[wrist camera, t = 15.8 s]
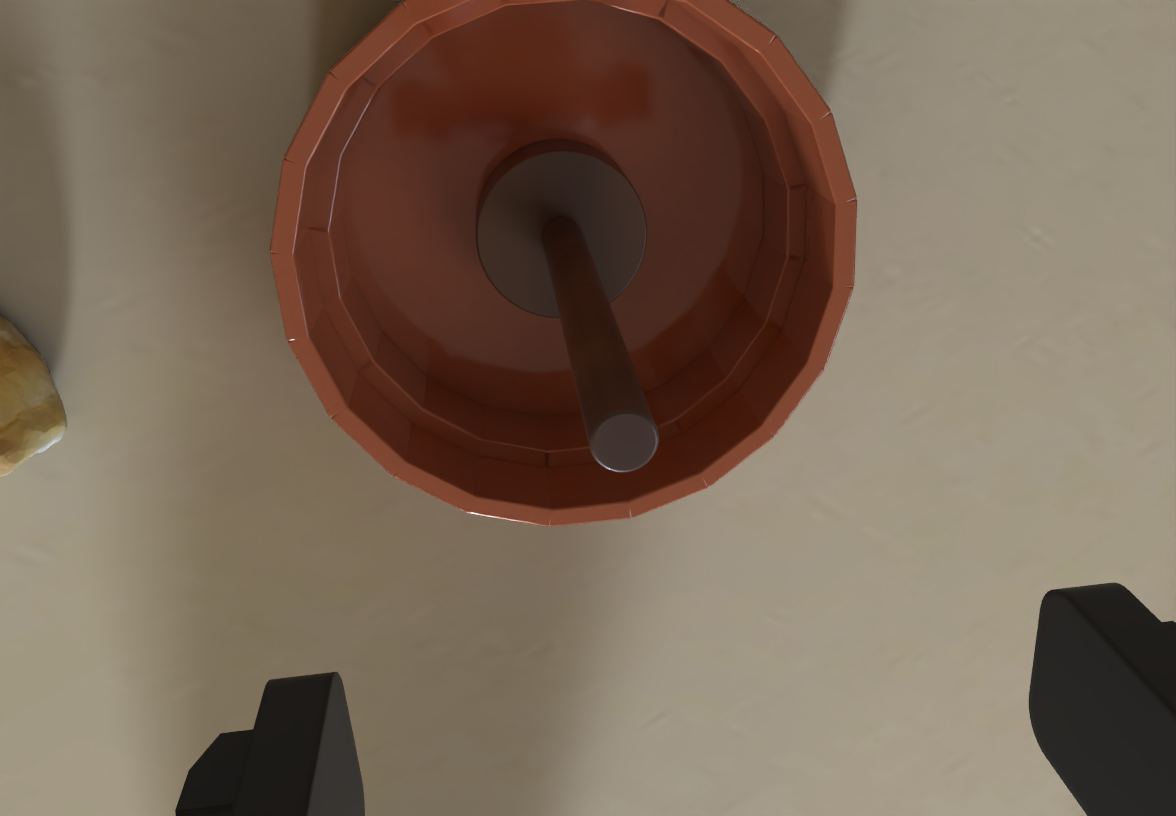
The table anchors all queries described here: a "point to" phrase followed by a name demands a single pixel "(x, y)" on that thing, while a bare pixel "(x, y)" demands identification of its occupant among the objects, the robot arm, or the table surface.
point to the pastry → (25, 401)
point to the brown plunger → (574, 276)
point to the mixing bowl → (535, 343)
